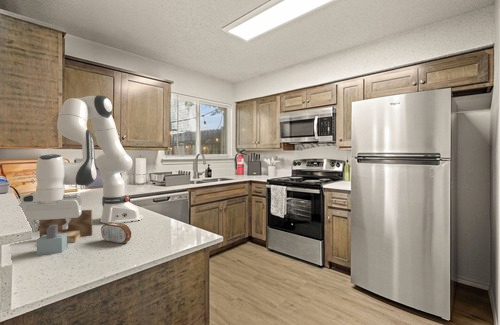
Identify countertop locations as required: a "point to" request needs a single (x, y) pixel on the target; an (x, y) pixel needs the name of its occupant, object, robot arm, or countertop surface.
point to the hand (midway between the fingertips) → (51, 230)
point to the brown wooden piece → (70, 226)
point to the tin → (116, 232)
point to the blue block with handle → (52, 241)
